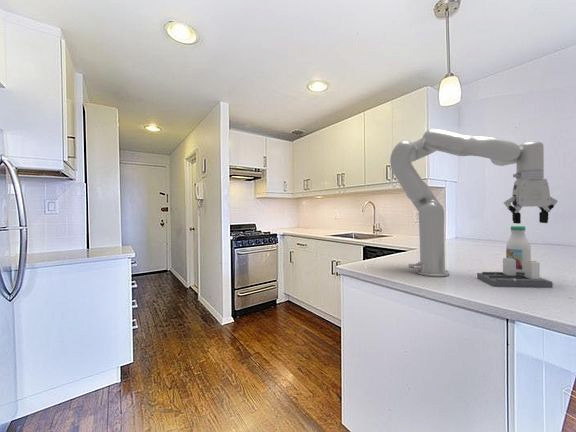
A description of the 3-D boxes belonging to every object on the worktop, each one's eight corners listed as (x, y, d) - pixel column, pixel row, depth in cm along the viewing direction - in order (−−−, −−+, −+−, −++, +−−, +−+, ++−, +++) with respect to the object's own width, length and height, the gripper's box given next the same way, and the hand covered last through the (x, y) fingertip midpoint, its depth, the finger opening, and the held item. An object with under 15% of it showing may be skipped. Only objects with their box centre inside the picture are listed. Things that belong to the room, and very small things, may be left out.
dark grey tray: (493, 286, 96) (493, 279, 96) (477, 277, 107) (477, 271, 107) (552, 287, 92) (552, 279, 92) (529, 278, 104) (529, 271, 104)
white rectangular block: (508, 275, 101) (508, 259, 101) (502, 273, 104) (502, 257, 104) (516, 275, 100) (515, 259, 100) (510, 273, 104) (509, 257, 104)
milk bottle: (521, 272, 114) (520, 225, 113) (536, 276, 106) (535, 226, 106) (501, 272, 115) (501, 225, 114) (515, 277, 107) (514, 227, 106)
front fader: (531, 279, 95) (531, 262, 95) (524, 276, 98) (524, 260, 98) (539, 279, 94) (539, 262, 94) (532, 277, 98) (532, 260, 98)
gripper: (509, 176, 98) (509, 224, 98) (565, 173, 95) (565, 223, 95) (497, 178, 105) (498, 223, 106) (549, 176, 102) (549, 222, 102)
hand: (530, 222), depth 100 cm, fingers open, 8 cm apart
